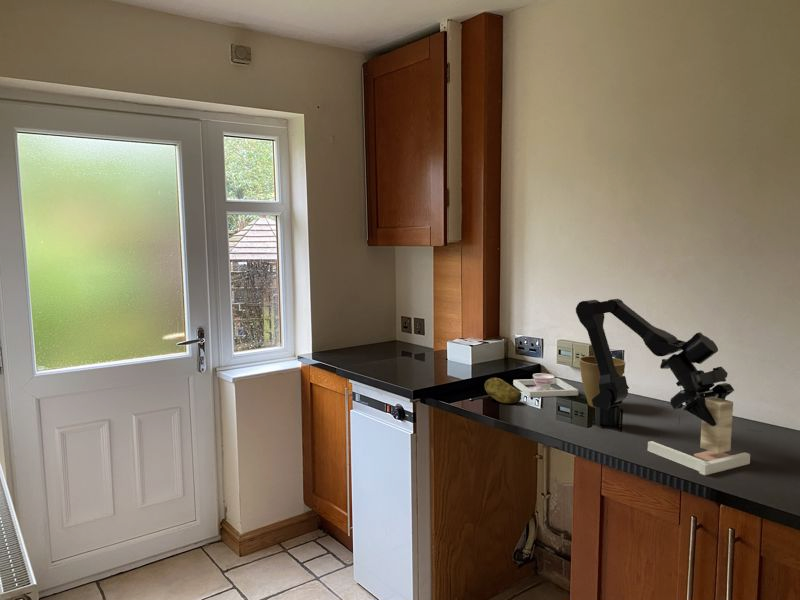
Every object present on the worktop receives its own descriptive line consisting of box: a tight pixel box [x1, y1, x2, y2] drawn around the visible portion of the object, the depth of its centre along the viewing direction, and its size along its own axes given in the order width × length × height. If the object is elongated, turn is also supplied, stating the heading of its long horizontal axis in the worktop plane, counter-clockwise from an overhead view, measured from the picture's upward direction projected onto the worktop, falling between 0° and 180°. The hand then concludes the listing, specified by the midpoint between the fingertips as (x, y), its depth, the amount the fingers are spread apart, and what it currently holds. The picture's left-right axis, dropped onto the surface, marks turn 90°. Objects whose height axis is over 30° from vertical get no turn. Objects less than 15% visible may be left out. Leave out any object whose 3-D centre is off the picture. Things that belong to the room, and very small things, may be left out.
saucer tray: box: [512, 377, 579, 398], centre depth 223 cm, size 18×18×2 cm
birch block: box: [699, 397, 734, 454], centre depth 154 cm, size 5×5×13 cm
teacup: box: [528, 372, 558, 391], centre depth 221 cm, size 12×12×6 cm
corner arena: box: [647, 440, 751, 476], centre depth 154 cm, size 18×17×2 cm
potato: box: [483, 377, 522, 404], centre depth 207 cm, size 8×13×8 cm, turn 40°
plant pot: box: [579, 355, 626, 408], centre depth 201 cm, size 15×15×16 cm
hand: (721, 424), depth 152 cm, fingers closed on birch block, 5 cm apart
